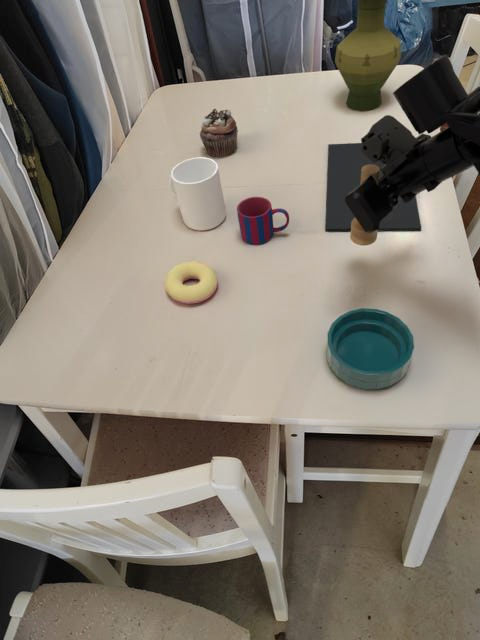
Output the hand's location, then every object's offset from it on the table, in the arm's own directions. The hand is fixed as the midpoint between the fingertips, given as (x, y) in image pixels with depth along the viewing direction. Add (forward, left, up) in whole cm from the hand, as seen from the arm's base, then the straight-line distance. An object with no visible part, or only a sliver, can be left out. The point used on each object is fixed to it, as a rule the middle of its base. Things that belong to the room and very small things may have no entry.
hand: (359, 202), depth 71 cm
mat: (-4, -25, -13) cm, 29 cm away
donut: (+29, +7, -14) cm, 33 cm away
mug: (+32, -14, -14) cm, 38 cm away
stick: (-1, +1, -7) cm, 7 cm away
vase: (-4, -63, -14) cm, 65 cm away
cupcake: (+32, -42, -14) cm, 55 cm away
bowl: (-2, +21, -13) cm, 25 cm away
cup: (+17, -8, -14) cm, 24 cm away
